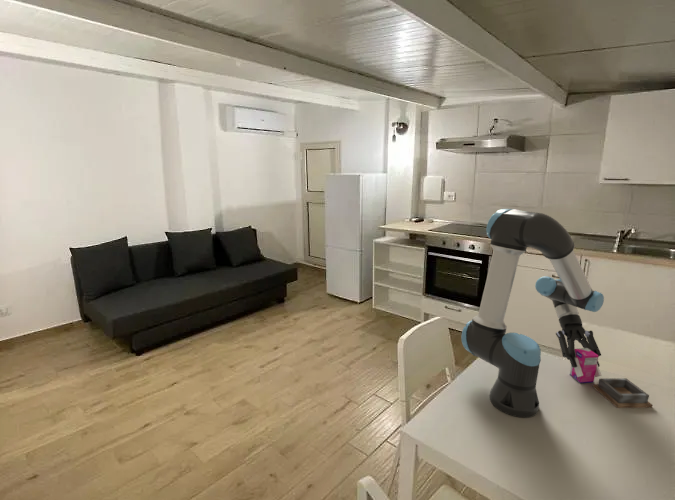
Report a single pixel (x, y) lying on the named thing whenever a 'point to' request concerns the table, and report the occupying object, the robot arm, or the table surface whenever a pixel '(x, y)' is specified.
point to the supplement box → (585, 365)
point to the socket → (623, 393)
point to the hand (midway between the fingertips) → (589, 376)
